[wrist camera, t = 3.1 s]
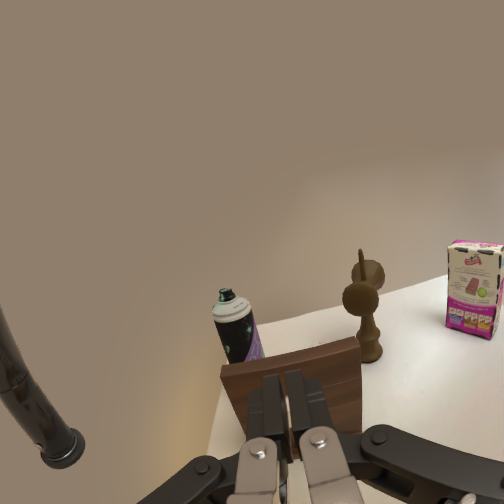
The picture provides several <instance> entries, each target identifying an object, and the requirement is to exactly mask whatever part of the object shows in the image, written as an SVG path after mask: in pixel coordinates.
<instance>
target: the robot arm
mask: <svg viewBox="0 0 504 504" xmlns="http://www.w3.org/2000/svg"><path fill="white" fill-rule="evenodd" d="M285 378H286V386H287V394H288V401H289V409H290V417H291V425H292V432H293V436H294V439H295V443H296V446H297V450H298V453H299V457H300V460H301V461H303V463H304V467H305V472H306V477H307V481H308V486H309V493H310V497H311V502H312V504H364V501H363V498H362V495H361V492H360V490H359V487H358V484H357V481H356V480H361V481H362V482H364V483H365V484H367V485H369V486H371V487H373V488H375V489H377V490H379V491H381V492H383V493H385V494H387V495H389V496H392V497H394V498H396V499H398V500H400V501H403V502H405V503H407V504H504V462H500V461H496V460H492V459H488V458H484V457H480V456H476V455H473V454H469V453H466V452H462V451H459V450H456V449H453V448H449V447H446V446H443V445H440V444H437V443H434V442H432V441H429V440H426V439H423V438H420V437H418V436H415V435H412V434H410V433H407V432H405V431H402V430H399V429H397V428H394V427H392V426H389V425H385V424H380V425H375V426H372V427H370V428H368V429H367V430H366V431H365V432H364V433H363V434H345V433H342V432H340V431H338V430H337V429H336V428H335V427H334V426H333V423H332V420H331V416H330V412H329V409H328V405H327V402H326V399H325V395H324V391H323V388H322V384H321V382H320V381H319V380H317V379H316V378H315V377H311V378H306V379H303V378H302V374H301V369H297V370H292V371H287V372H285ZM262 386H263V388H257V389H253V390H252V392H251V393H250V395H249V397H248V415H247V438H246V443H245V444H244V445H243V446H242V447H241V449H240V451H239V452H238V453H237V454H235V455H233V456H230V457H227V458H224V459H221V460H218V459H216V458H215V457H212V456H200V457H197V458H194V459H193V460H191V461H190V462H189V463H188V464H187V465H185V466H184V467H183V468H182V469H181V470H179V471H178V472H177V473H176V474H175V475H174V476H172V477H171V478H170V479H168V480H167V481H166V482H165V483H163V484H162V485H161V486H160V487H158V488H157V489H156V490H154V491H153V492H152V493H150V494H149V495H148V496H146V497H145V498H144V499H142V500H141V501H139V502H138V503H137V504H289V477H288V464H290V463H293V454H292V446H291V437H290V428H289V419H288V411H287V404H286V399H285V395H284V391H283V387H282V384H281V380H280V376H279V374H273V375H268V376H263V377H262ZM0 400H1V402H2V403H3V405H4V406H5V407H6V409H7V410H8V412H9V413H10V414H11V416H12V417H13V418H14V420H15V421H16V422H17V423H18V425H19V426H20V427H21V429H22V430H23V431H24V432H25V434H26V435H27V436H28V437H29V438H30V439H31V441H32V442H33V444H34V445H35V446H36V447H37V448H39V450H40V451H41V452H42V453H43V454H44V456H45V457H46V458H47V459H48V460H50V461H54V462H58V461H62V460H65V459H66V458H68V457H69V456H71V455H72V453H73V452H74V451H75V449H76V447H77V444H78V439H77V436H76V435H75V434H74V432H72V431H71V429H70V428H69V427H68V426H67V424H66V423H65V422H64V420H63V419H62V418H61V417H60V415H59V414H58V413H57V411H56V410H55V408H54V407H53V406H52V404H51V403H50V401H49V400H48V399H47V396H46V395H45V394H44V392H43V391H42V390H41V388H40V386H39V385H38V383H37V382H36V380H35V379H34V377H33V375H32V374H31V372H30V370H29V369H28V367H27V365H26V363H25V362H24V359H23V356H22V354H21V351H20V349H19V347H18V345H17V343H16V341H15V338H14V336H13V334H12V332H11V329H10V327H9V324H8V322H7V319H6V316H5V314H4V311H3V309H2V307H1V304H0Z"/></svg>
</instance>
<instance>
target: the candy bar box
mask: <svg viewBox="0 0 504 504" xmlns="http://www.w3.org/2000/svg"><path fill="white" fill-rule="evenodd" d="M503 285H504V245H503V244H494V243H484V242H474V241H462V240H455V241H454V242H453V243H452V244H451V245H450V246H449V247H448V298H447V314H446V327H448V328H452V329H455V330H459V331H462V332H465V333H469V334H473V335H476V336H480V337H483V338H487V339H491V338H492V337H493V334H494V332H495V331H496V329H497V326H498V322H499V316H500V309H501V302H502V294H503Z"/></svg>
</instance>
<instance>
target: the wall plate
mask: <svg viewBox="0 0 504 504" xmlns="http://www.w3.org/2000/svg"><path fill="white" fill-rule="evenodd" d="M297 369H301V374H302V378H303V379H306V378H311V377H315V378H316V379H317V380H319V381H320V382H321V384H322V388H323V391H324V395H325V399H326V402H327V405H328V409H329V412H330V416H331V420H332V423H333V426H334V427H335V428H336V429H337V430H338V431H340V432H342V433H345V434H363V433H362V373H361V351H360V345H359V343H358V341H357V340H356V338H355V336H353V337H349V338H346V339H342V340H338V341H335V342H331V343H327V344H324V345H320V346H316V347H312V348H308V349H303V350H299V351H295V352H290V353H286V354H281V355H277V356H272V357H267V358H262V359H257V360H251V361H246V362H240V363H234V364H228V365H222V368H221V374H220V378H221V381H222V383H223V385H224V388H225V390H226V393H227V395H228V397H229V399H230V402H231V404H232V406H233V409H234V411H235V413H236V415H237V418H238V420H239V422H240V424H241V426H242V428H243V431H244V433H245V435H246V437H247V415H248V397H249V395H250V393H251V392H252V390H253V389H257V388H263V386H262V377H263V376H268V375H273V374H279V376H280V380H281V384H282V387H283V391H284V395H285V396H287V395H288V394H287V386H286V378H285V372H287V371H292V370H297ZM290 437H291V446H292V454H293V459H299V458H300V457H299V453H298V450H297V446H296V443H295V439H294V436H293V432H292V428H290Z"/></svg>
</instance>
